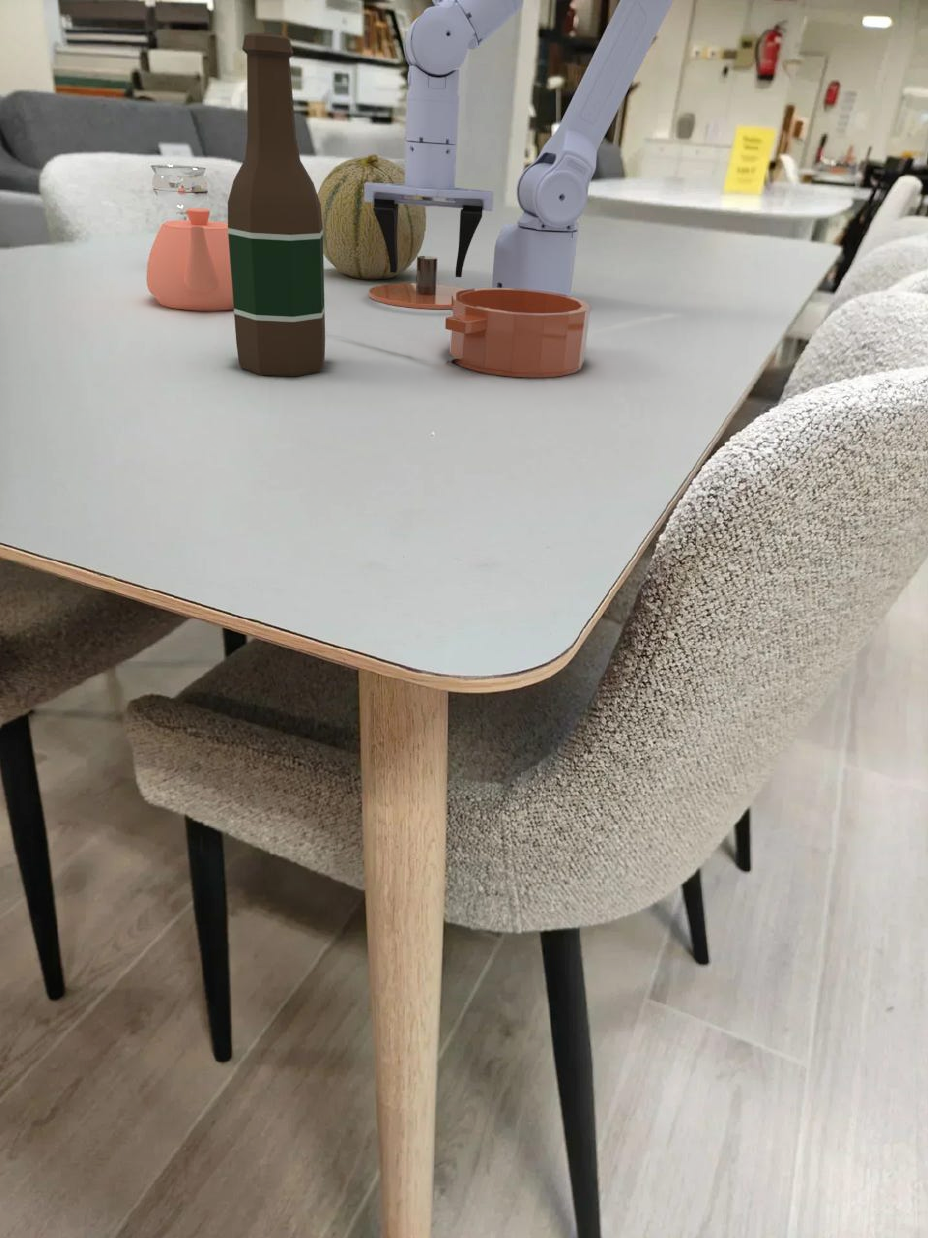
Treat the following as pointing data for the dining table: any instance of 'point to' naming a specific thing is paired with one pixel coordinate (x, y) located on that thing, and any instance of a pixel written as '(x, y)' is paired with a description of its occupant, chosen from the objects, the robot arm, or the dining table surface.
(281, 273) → the beer bottle
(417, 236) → the cantaloupe
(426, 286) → the pot lid
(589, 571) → the dining table surface
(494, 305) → the faceted orange tub
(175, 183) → the wineglass
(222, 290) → the teapot
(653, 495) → the dining table surface
